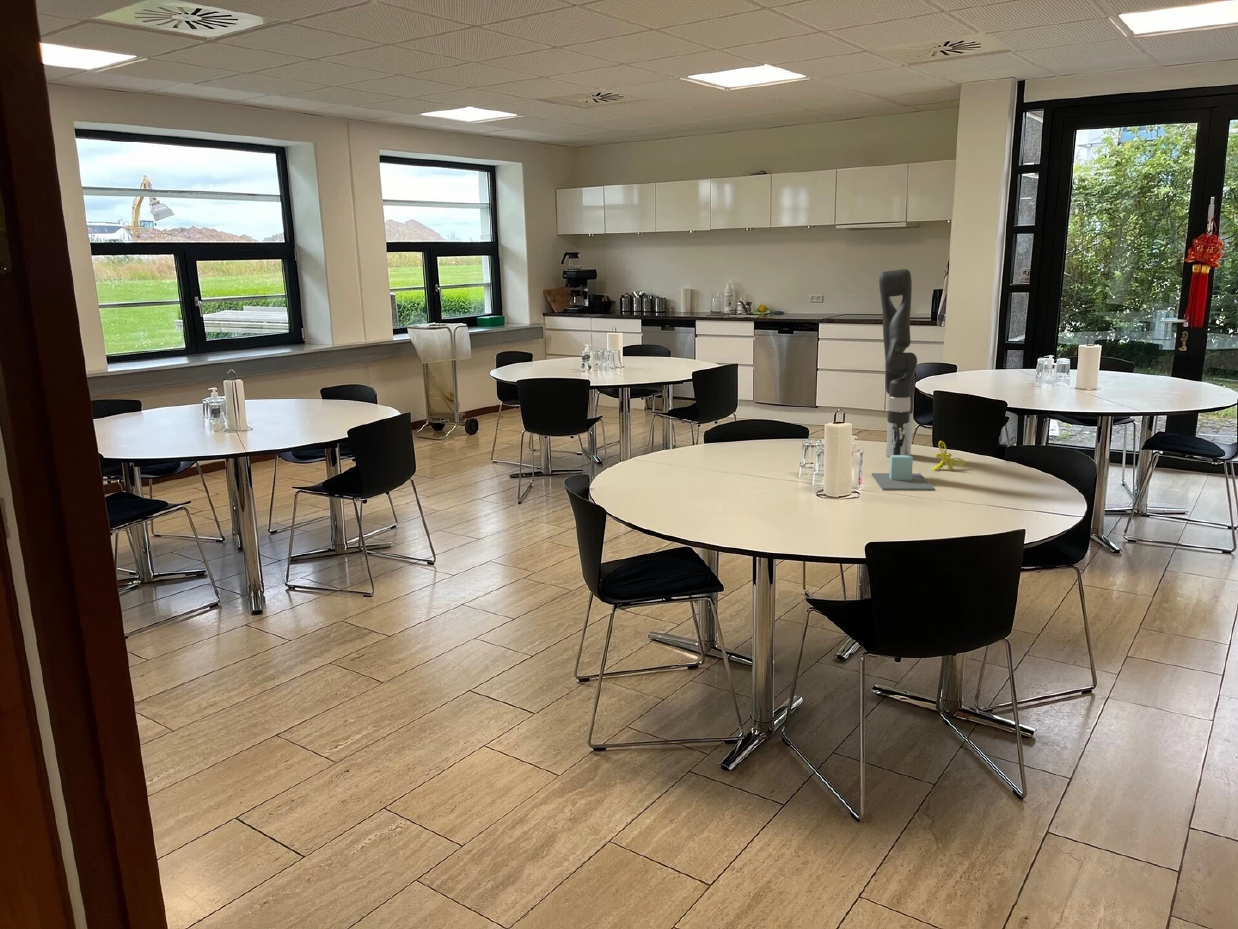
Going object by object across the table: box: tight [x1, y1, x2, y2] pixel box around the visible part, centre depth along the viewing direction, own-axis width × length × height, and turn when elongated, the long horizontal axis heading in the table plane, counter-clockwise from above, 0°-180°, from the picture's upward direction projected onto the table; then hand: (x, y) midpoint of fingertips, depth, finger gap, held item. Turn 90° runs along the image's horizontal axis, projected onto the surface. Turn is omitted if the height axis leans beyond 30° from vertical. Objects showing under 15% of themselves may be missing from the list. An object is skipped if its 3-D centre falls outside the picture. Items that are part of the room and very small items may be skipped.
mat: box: [871, 472, 936, 491], centre depth 315 cm, size 22×17×1 cm
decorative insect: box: [930, 440, 966, 472], centre depth 331 cm, size 13×3×10 cm
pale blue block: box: [889, 455, 914, 480], centre depth 317 cm, size 4×7×8 cm, turn 84°
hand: (896, 457), depth 324 cm, fingers closed
